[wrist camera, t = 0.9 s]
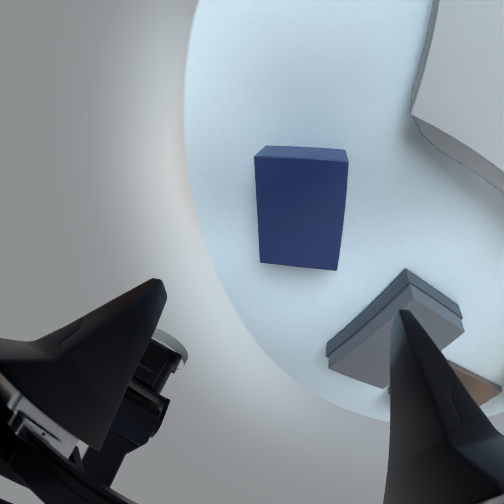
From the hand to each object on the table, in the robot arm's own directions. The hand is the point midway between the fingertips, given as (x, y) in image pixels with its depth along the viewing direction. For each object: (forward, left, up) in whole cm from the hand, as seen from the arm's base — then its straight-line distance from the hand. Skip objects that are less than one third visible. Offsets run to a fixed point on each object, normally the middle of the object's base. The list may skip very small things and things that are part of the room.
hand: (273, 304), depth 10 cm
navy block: (0, 0, -10) cm, 10 cm away
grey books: (-6, -13, -10) cm, 18 cm away
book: (+20, -8, -10) cm, 24 cm away
